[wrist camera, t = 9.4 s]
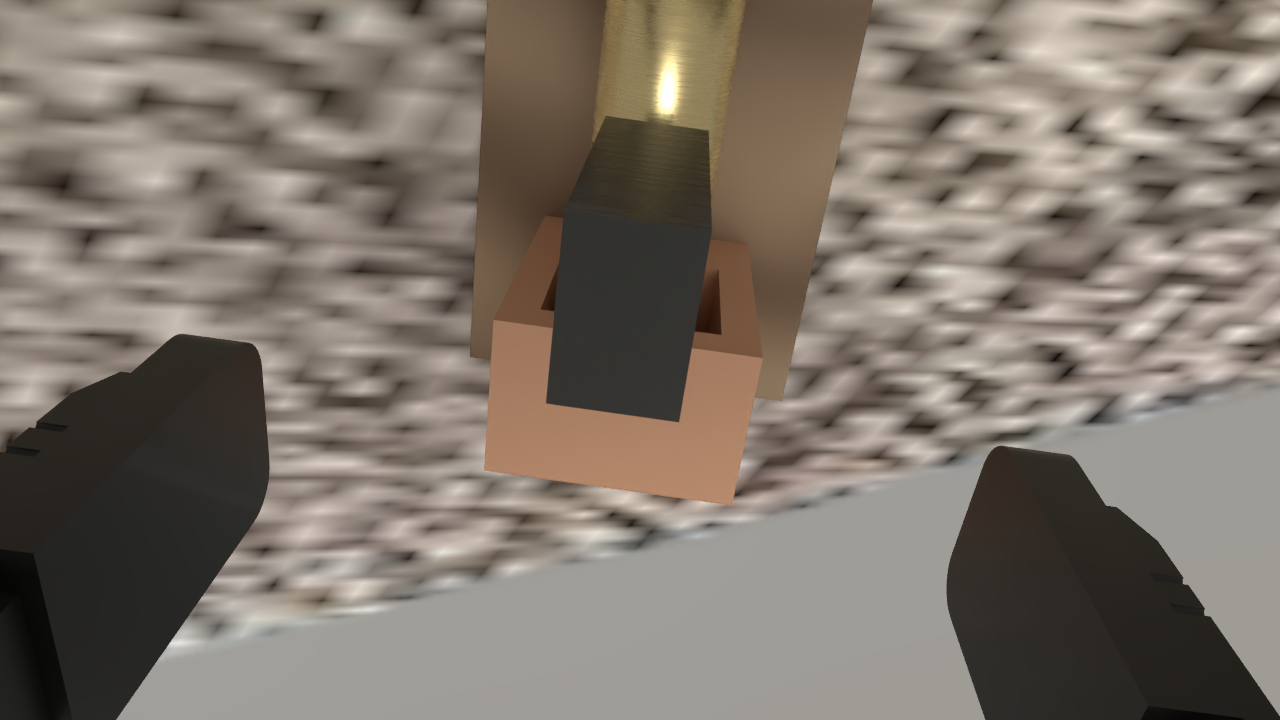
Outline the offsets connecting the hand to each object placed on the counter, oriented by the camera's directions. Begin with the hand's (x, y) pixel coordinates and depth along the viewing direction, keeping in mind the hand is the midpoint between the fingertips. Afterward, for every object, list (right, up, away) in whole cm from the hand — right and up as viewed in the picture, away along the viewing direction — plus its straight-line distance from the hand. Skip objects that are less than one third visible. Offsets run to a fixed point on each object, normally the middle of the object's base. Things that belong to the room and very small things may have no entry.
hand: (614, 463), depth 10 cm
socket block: (0, +3, +18) cm, 18 cm away
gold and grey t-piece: (+1, +7, +12) cm, 14 cm away
